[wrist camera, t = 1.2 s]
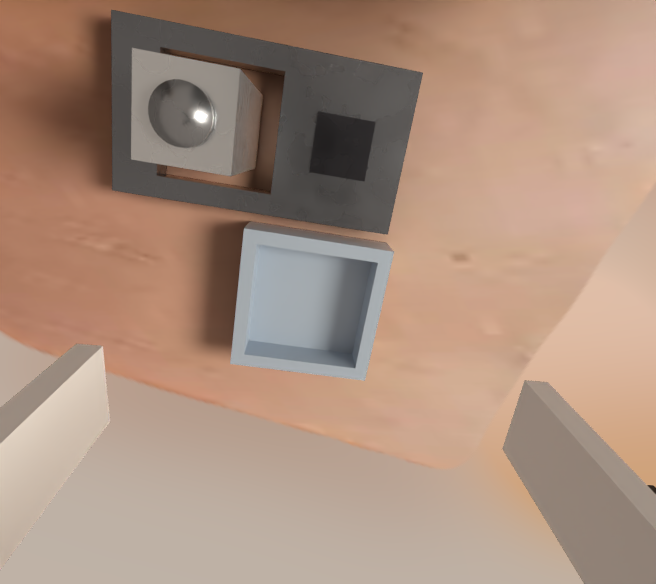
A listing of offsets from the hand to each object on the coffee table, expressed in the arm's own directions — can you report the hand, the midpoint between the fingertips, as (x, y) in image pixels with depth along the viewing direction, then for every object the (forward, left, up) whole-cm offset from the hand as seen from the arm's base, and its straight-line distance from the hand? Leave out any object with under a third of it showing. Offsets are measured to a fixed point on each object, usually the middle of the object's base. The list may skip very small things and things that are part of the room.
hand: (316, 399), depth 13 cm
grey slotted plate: (-8, -5, -21) cm, 23 cm away
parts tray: (+4, 0, -21) cm, 21 cm away
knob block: (-8, -8, -21) cm, 24 cm away
